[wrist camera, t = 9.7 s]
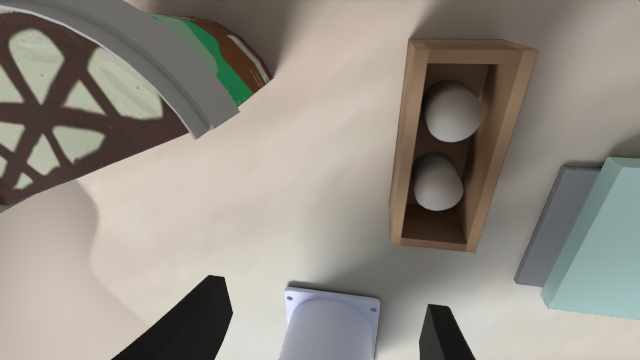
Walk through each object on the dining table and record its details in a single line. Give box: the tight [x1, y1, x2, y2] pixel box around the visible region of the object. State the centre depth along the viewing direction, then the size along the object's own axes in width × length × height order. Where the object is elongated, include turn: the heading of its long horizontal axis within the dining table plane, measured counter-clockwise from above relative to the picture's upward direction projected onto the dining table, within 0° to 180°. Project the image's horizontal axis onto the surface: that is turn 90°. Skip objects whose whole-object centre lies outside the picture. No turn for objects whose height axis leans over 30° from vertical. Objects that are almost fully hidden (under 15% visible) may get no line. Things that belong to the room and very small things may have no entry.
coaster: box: [514, 166, 601, 287], centre depth 19 cm, size 9×9×1 cm
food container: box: [0, 0, 273, 213], centre depth 14 cm, size 12×6×10 cm, turn 113°
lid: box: [540, 157, 640, 320], centre depth 18 cm, size 11×6×1 cm, turn 1°
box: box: [389, 39, 538, 253], centre depth 16 cm, size 10×4×4 cm, turn 1°
